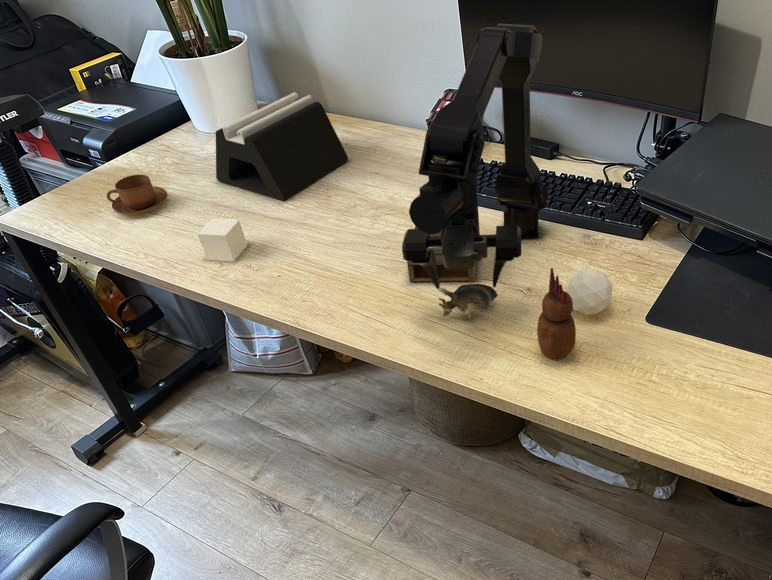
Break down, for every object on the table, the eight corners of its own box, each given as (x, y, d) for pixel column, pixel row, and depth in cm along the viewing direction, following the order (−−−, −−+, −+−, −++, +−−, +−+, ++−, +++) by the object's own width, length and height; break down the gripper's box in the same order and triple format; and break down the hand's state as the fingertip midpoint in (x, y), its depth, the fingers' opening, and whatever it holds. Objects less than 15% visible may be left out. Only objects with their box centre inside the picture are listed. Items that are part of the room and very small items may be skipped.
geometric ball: (575, 317, 115) (561, 274, 114) (620, 303, 113) (605, 259, 112) (571, 324, 108) (556, 278, 107) (619, 309, 105) (603, 262, 105)
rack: (477, 243, 130) (476, 224, 127) (474, 281, 120) (472, 261, 117) (417, 244, 131) (415, 225, 128) (409, 282, 121) (406, 262, 118)
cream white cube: (221, 243, 136) (212, 218, 132) (247, 245, 135) (239, 219, 131) (206, 259, 131) (197, 233, 127) (233, 261, 130) (224, 235, 126)
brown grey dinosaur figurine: (459, 332, 108) (504, 307, 110) (441, 294, 106) (488, 269, 108) (444, 324, 115) (487, 301, 117) (427, 289, 113) (472, 265, 115)
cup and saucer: (126, 225, 144) (114, 200, 140) (107, 207, 151) (96, 182, 147) (178, 205, 149) (168, 181, 145) (158, 189, 156) (148, 164, 152)
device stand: (348, 161, 162) (337, 101, 152) (284, 201, 148) (267, 138, 138) (283, 145, 171) (268, 87, 162) (217, 181, 158) (197, 120, 148)
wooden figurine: (534, 339, 107) (535, 263, 97) (568, 336, 107) (573, 259, 97) (541, 367, 102) (542, 290, 92) (577, 364, 102) (583, 286, 92)
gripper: (391, 230, 94) (405, 317, 104) (520, 226, 92) (522, 314, 102) (401, 195, 103) (413, 278, 113) (520, 190, 101) (521, 275, 111)
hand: (466, 286), depth 109 cm, fingers open, 9 cm apart
